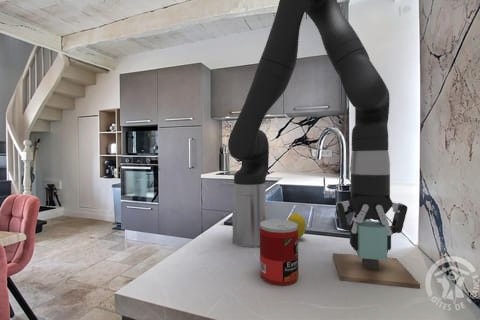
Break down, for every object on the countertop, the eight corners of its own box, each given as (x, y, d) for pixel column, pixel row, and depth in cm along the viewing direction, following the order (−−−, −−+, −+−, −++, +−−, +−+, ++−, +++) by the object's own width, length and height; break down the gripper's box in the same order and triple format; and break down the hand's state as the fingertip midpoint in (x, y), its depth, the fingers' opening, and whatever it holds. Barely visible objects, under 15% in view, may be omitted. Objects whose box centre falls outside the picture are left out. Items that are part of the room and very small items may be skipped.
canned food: (290, 290, 46) (290, 231, 46) (253, 279, 50) (252, 225, 50) (303, 273, 52) (303, 221, 52) (269, 265, 56) (268, 217, 56)
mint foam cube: (359, 258, 51) (359, 226, 51) (354, 248, 56) (354, 220, 56) (387, 260, 50) (387, 228, 50) (379, 250, 55) (379, 221, 55)
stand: (339, 280, 49) (339, 241, 49) (332, 256, 61) (332, 224, 61) (420, 288, 46) (420, 246, 46) (396, 261, 57) (396, 228, 57)
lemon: (306, 242, 70) (306, 215, 70) (286, 241, 72) (286, 214, 71) (305, 236, 76) (305, 210, 76) (287, 235, 77) (286, 210, 77)
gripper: (336, 173, 51) (337, 254, 51) (415, 173, 48) (415, 260, 48) (332, 171, 58) (332, 242, 59) (400, 171, 55) (400, 246, 55)
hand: (369, 249), depth 53 cm, fingers closed on mint foam cube, 5 cm apart
